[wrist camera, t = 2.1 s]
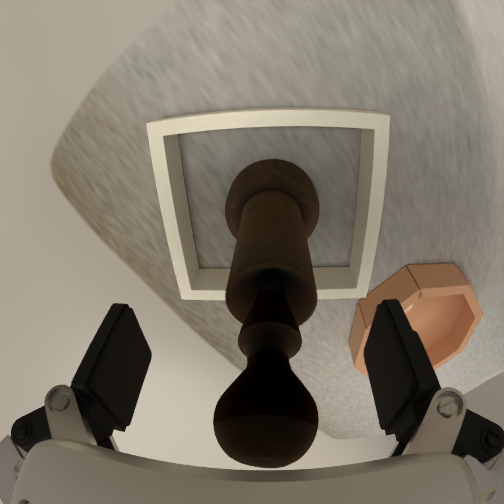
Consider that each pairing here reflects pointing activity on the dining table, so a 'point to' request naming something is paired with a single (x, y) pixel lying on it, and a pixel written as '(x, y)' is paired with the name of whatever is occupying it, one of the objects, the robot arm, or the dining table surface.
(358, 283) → the open rectangular frame
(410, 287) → the terracotta bowl
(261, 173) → the dark brown knobbed post
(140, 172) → the dining table surface
